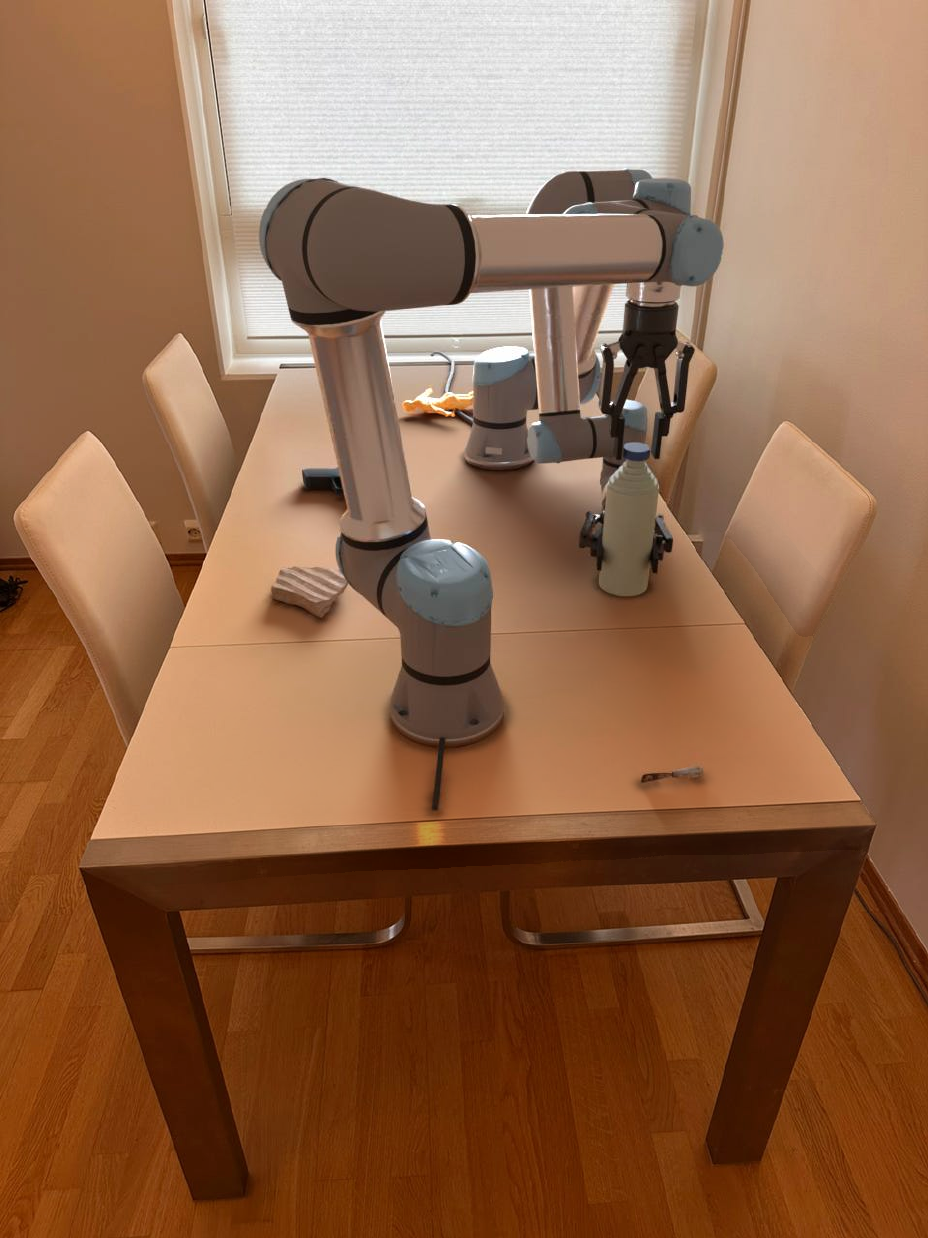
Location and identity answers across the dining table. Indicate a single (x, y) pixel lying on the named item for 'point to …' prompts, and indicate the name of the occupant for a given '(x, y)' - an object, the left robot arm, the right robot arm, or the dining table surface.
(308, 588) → the stone
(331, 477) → the handgun
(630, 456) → the cap
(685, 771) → the putty knife
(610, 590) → the bottle
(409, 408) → the human figure
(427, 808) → the dining table surface
